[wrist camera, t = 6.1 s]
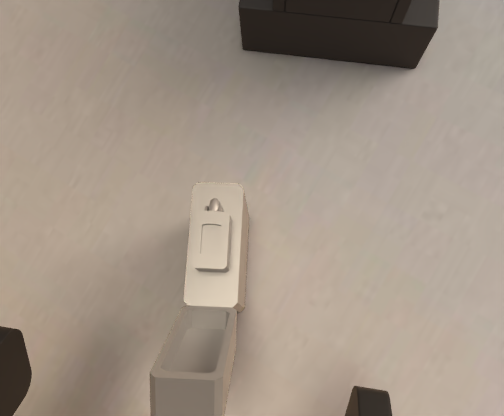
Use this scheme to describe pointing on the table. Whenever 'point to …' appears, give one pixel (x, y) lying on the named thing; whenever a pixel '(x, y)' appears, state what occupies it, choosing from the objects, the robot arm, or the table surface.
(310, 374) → the table surface
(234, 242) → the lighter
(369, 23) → the dark grey holder tray
